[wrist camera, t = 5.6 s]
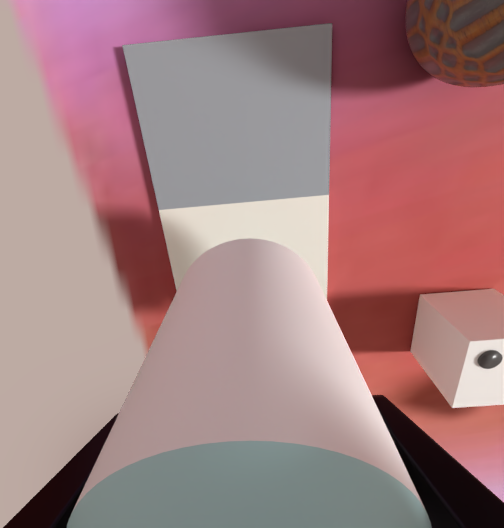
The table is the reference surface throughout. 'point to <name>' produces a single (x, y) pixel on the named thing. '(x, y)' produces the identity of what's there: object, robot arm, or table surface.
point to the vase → (458, 40)
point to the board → (238, 139)
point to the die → (462, 345)
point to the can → (249, 413)
